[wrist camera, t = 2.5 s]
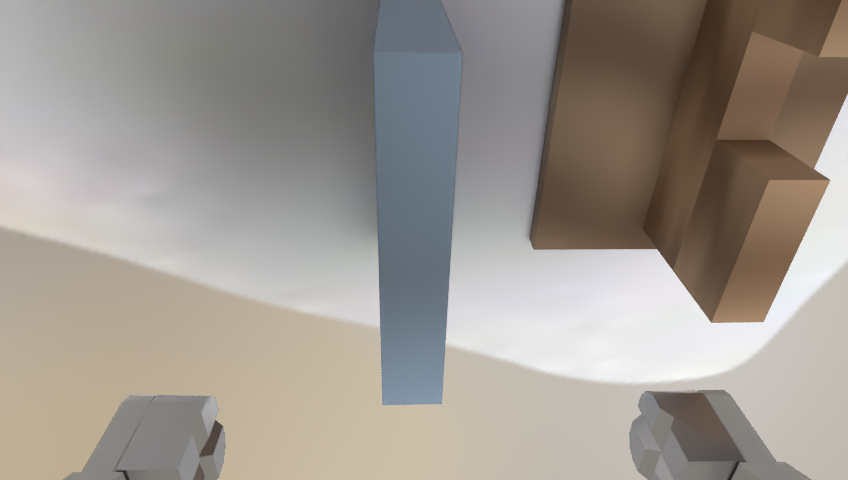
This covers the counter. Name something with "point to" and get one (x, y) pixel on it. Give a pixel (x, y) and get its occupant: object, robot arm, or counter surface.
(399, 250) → the blue slotted plate
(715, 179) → the walnut joint base
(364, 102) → the counter surface
